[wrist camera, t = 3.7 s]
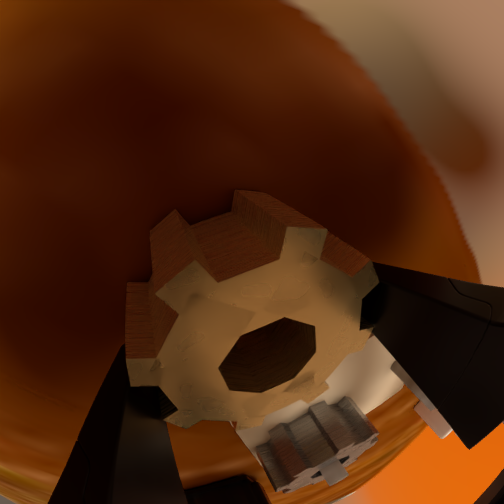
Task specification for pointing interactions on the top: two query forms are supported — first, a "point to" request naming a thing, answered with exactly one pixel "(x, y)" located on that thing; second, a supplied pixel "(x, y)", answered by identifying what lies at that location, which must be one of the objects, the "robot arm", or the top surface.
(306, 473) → the grey gear
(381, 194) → the top surface
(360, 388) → the birch gear board
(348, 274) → the brass gear
